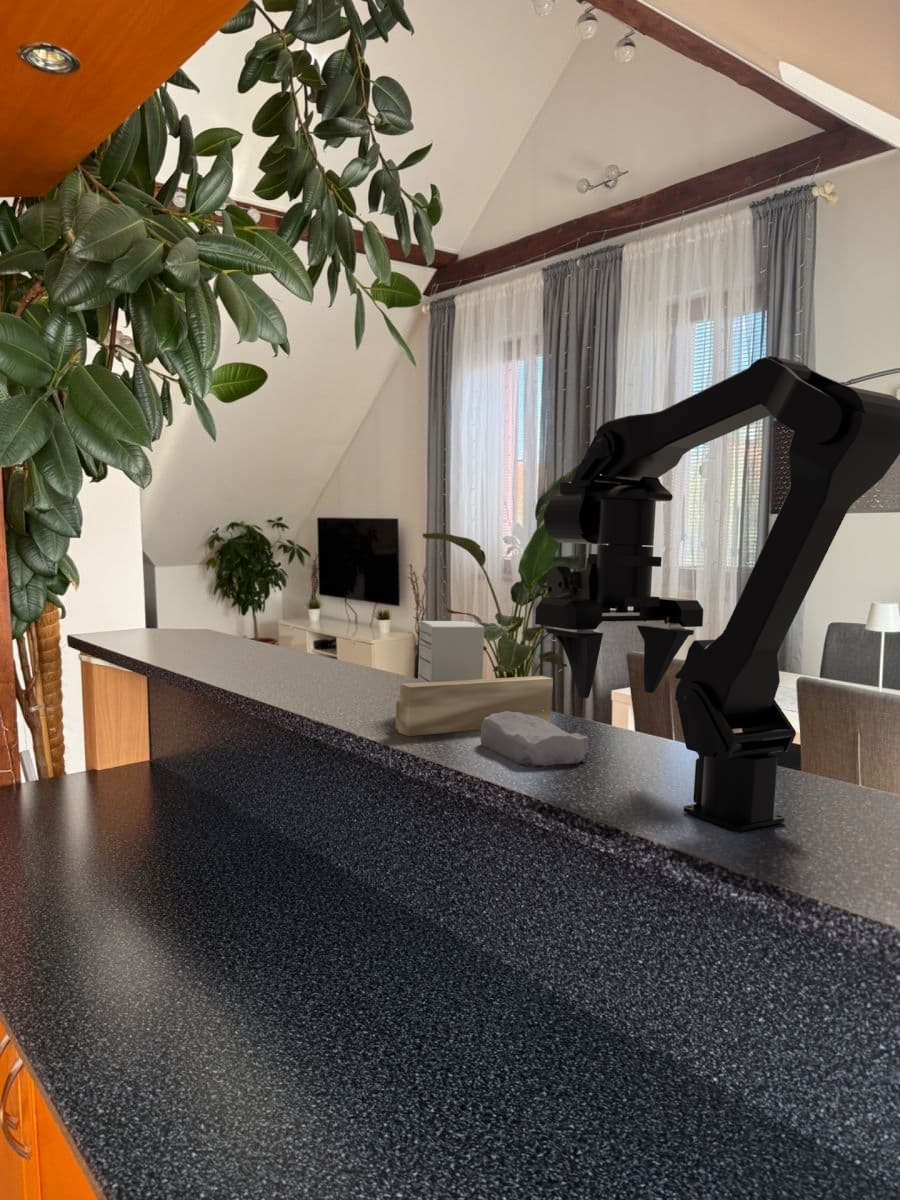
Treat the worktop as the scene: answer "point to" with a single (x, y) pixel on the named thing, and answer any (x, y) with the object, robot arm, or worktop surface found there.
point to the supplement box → (450, 651)
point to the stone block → (531, 740)
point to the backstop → (469, 703)
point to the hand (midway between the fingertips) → (617, 695)
